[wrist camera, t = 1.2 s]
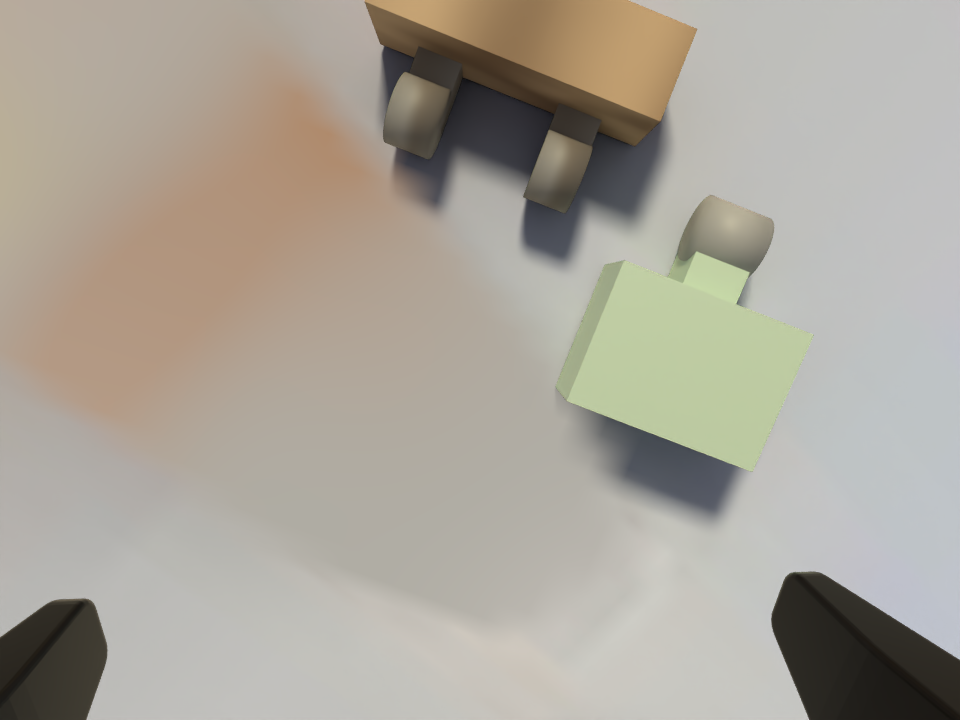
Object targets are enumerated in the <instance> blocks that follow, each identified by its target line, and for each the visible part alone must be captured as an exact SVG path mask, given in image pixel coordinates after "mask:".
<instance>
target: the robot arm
mask: <svg viewBox="0 0 960 720" xmlns="http://www.w3.org/2000/svg"><path fill="white" fill-rule="evenodd" d="M771 622H772V628H773V632H774V635H775V638H776V640H777V642H778V645H779V647H780V650H781V652H782V655H783V657H784V659H785V662H786V664H787V667H788V669H789V671H790V674H791V676H792V679H793V681H794V684H795V686H796V688H797V691H798V693H799V696H800V698H801V700H802V703H803V705H804V708H805V710H806V713H807V715H808V717H809V720H960V660H959V659H957V658H956V657H954V656H953V655H951V654H950V653H948V652H946V651H945V650H943V649H942V648H940V647H938V646H937V645H935V644H934V643H932V642H930V641H929V640H927V639H926V638H924V637H923V636H921V635H919V634H918V633H916V632H915V631H913V630H911V629H910V628H908V627H907V626H905V625H903V624H902V623H900V622H899V621H897V620H896V619H894V618H892V617H891V616H889V615H888V614H886V613H884V612H883V611H881V610H880V609H878V608H876V607H875V606H873V605H872V604H870V603H869V602H867V601H865V600H864V599H862V598H861V597H859V596H857V595H856V594H854V593H853V592H851V591H850V590H848V589H846V588H845V587H843V586H842V585H840V584H838V583H837V582H835V581H834V580H832V579H830V578H829V577H827V576H826V575H824V574H822V573H819V572H793V573H790V574H789V575H787V576H786V577H785V579H784V582H783V584H782V587H781V590H780V592H779V595H778V598H777V601H776V603H775V606H774V609H773V612H772V618H771ZM106 659H107V643H106V639H105V636H104V633H103V630H102V626H101V623H100V620H99V617H98V613H97V610H96V607H95V605H94V603H93V602H92V601H91V600H89V599H60V600H54V601H52V602H49V603H48V604H46V605H44V606H43V607H41V608H40V609H39V610H37V611H36V612H35V613H33V614H32V615H30V616H29V617H28V618H26V619H25V620H24V621H22V622H21V623H19V624H18V625H17V626H15V627H14V628H12V629H11V630H10V631H8V632H7V633H6V634H4V635H3V636H1V637H0V720H86V719H87V716H88V713H89V710H90V708H91V705H92V702H93V699H94V696H95V693H96V690H97V688H98V685H99V682H100V679H101V676H102V673H103V670H104V667H105V664H106Z"/></svg>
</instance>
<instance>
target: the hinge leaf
mask: <svg viewBox="0 0 960 720" xmlns="http://www.w3.org/2000/svg"><path fill="white" fill-rule="evenodd" d="M773 233H774V223H773V221H772V219H770V218H767V217H765V216H762V215H760V214H757V213H755V212H752V211H750V210H747V209H745V208H742V207H740V206H737V205H735V204H732V203H730V202H727V201H725V200H722V199H720V198H717V197H715V196H712V195H710V196H708V197H706V198H705V199H704V200H703V201H702V202H701V203H700V204H699V206H698V207H697V208H696V210H695V211H694V213H693V215H692V216H691V218H690V220H689V222H688V224H687V226H686V228H685V230H684V232H683V235H682V238H681V241H680V244H679V249H678V254H677V256H676V258H675V261H674V263H673V266H672V268H671V270H670V273H669V275H668V277H665V276H663V275H660V274H658V273H655V272H653V271H650V270H648V269H645V268H643V267H640V266H638V265H635V264H632V263H630V262H627V261H625V260H623V261H619V262H615V263H610V264H606V265H604V268H603V270H602V273H601V275H600V278H599V280H598V283H597V285H596V288H595V290H594V293H593V295H592V298H591V300H590V302H589V305H588V307H587V310H586V312H585V315H584V317H583V320H582V322H581V325H580V327H579V330H578V332H577V335H576V337H575V340H574V342H573V345H572V347H571V350H570V352H569V354H568V357H567V359H566V362H565V364H564V367H563V369H562V372H561V374H560V377H559V379H558V382H557V384H556V389H557V390H558V391H559V392H560V394H561V395H562V396H563V397H564V398H565V400H566V401H567V402H570V403H573V404H575V405H578V406H581V407H583V408H586V409H588V410H591V411H594V412H596V413H599V414H601V415H604V416H607V417H609V418H612V419H615V420H617V421H620V422H622V423H625V424H628V425H630V426H633V427H636V428H638V429H641V430H643V431H646V432H649V433H651V434H654V435H656V436H659V437H662V438H664V439H667V440H670V441H672V442H675V443H677V444H680V445H683V446H685V447H688V448H691V449H693V450H696V451H698V452H701V453H704V454H706V455H709V456H712V457H714V458H717V459H719V460H722V461H725V462H727V463H730V464H732V465H735V466H738V467H740V468H743V469H746V470H748V471H751V472H753V470H754V467H755V465H756V463H757V461H758V458H759V456H760V454H761V452H762V449H763V447H764V445H765V443H766V441H767V438H768V436H769V434H770V432H771V429H772V427H773V425H774V423H775V421H776V418H777V416H778V414H779V412H780V409H781V407H782V405H783V403H784V401H785V398H786V396H787V394H788V392H789V389H790V387H791V385H792V383H793V380H794V378H795V376H796V374H797V372H798V369H799V367H800V365H801V363H802V360H803V358H804V356H805V354H806V352H807V349H808V347H809V345H810V343H811V340H812V338H813V336H814V335H813V334H810V333H808V332H805V331H803V330H800V329H798V328H795V327H792V326H790V325H787V324H785V323H782V322H780V321H777V320H775V319H772V318H770V317H767V316H765V315H762V314H759V313H757V312H754V311H752V310H749V309H747V308H744V307H742V306H739V305H737V304H736V303H737V301H738V299H739V296H740V294H741V292H742V289H743V287H744V285H745V282H746V280H747V278H748V277H749V276H751V275H752V273H753V272H754V271H755V270H756V269H757V268H758V266H759V265H760V263H761V262H762V260H763V258H764V257H765V255H766V253H767V251H768V249H769V246H770V244H771V241H772V238H773Z"/></svg>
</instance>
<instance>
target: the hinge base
mask: <svg viewBox="0 0 960 720" xmlns="http://www.w3.org/2000/svg"><path fill="white" fill-rule="evenodd" d="M365 4H366V7H367V9H368V12H369V15H370V17H371V20H372V23H373V25H374V28H375V31H376V33H377V36H378V39H379V42H380V44H382V45H384V46H387V47H389V48H392V49H394V50H397V51H399V52H402V53H404V54H407V55H409V56H412V57H414V60H413V63H412V66H411V69H410V71H409V73H408V72H404V73H403V74H402V75H401V77H400V78H399V80H398V82H397V84H396V86H395V88H394V90H393V93H392V96H391V98H390V101H389V105H388V108H387V112H386V117H385V122H384V129H383V139H384V142H385V143H388V144H390V145H393V146H395V147H398V148H400V149H403V150H405V151H408V152H410V153H413V154H415V155H418V156H420V157H423V158H426V159H428V160H429V159H430V158H431V157H432V156H433V154H434V152H435V150H436V148H437V146H438V143H439V141H440V138H441V136H442V133H443V130H444V127H445V125H446V122H447V119H448V117H449V114H450V111H451V108H452V106H453V103H454V100H455V97H456V95H457V92H458V89H459V87H460V84H461V81H462V78H463V77H464V78H466V79H469V80H471V81H474V82H476V83H479V84H481V85H484V86H486V87H488V88H491V89H493V90H496V91H498V92H501V93H503V94H506V95H508V96H511V97H513V98H516V99H518V100H521V101H523V102H526V103H528V104H531V105H533V106H536V107H538V108H541V109H543V110H546V111H548V112H551V113H553V114H554V117H553V119H552V122H551V125H550V127H549V130H548V132H547V135H546V138H545V140H544V143H543V146H542V148H541V151H540V153H539V156H538V159H537V161H536V164H535V166H534V169H533V172H532V174H531V177H530V180H529V182H528V185H527V187H526V190H525V193H524V196H523V197H524V198H527V199H529V200H532V201H534V202H537V203H539V204H542V205H544V206H547V207H549V208H552V209H554V210H557V211H560V212H562V213H566V212H567V210H568V209H569V207H570V205H571V203H572V201H573V199H574V197H575V194H576V192H577V190H578V188H579V185H580V183H581V180H582V178H583V176H584V173H585V170H586V168H587V165H588V162H589V159H590V156H591V153H592V149H593V147H592V144H593V141H594V139H595V136H596V134H597V131H598V132H600V133H603V134H605V135H608V136H610V137H613V138H615V139H618V140H620V141H623V142H625V143H628V144H630V145H633V146H636V145H637V144H638V143H639V142H640V141H641V140H642V139H643V138H644V137H645V136H646V135H647V134H648V133H649V132H650V131H651V130H652V129H653V128H654V127H655V126H656V125H657V124H658V123H659V122H660V121H661V119H662V116H663V114H664V111H665V109H666V106H667V104H668V101H669V99H670V96H671V94H672V91H673V89H674V86H675V84H676V81H677V79H678V76H679V74H680V71H681V69H682V66H683V64H684V61H685V59H686V56H687V54H688V51H689V49H690V46H691V44H692V41H693V39H694V36H695V34H696V31H697V29H696V28H694V27H691V26H689V25H686V24H684V23H681V22H679V21H677V20H674V19H672V18H669V17H667V16H664V15H662V14H660V13H657V12H655V11H652V10H650V9H648V8H645V7H643V6H640V5H638V4H635V3H633V2H631V1H628V0H365Z"/></svg>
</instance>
